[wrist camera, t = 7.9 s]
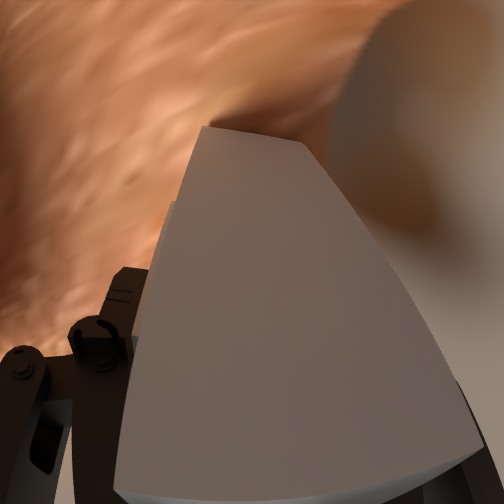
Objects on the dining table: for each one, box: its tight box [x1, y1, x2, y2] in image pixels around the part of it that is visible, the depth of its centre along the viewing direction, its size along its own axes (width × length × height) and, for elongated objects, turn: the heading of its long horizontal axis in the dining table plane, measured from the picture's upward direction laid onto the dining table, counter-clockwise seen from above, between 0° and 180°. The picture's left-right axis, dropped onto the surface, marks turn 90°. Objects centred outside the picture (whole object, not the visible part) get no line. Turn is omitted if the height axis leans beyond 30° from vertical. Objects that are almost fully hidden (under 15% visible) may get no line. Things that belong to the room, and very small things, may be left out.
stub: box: [113, 126, 484, 504], centre depth 9 cm, size 4×7×12 cm, turn 169°
